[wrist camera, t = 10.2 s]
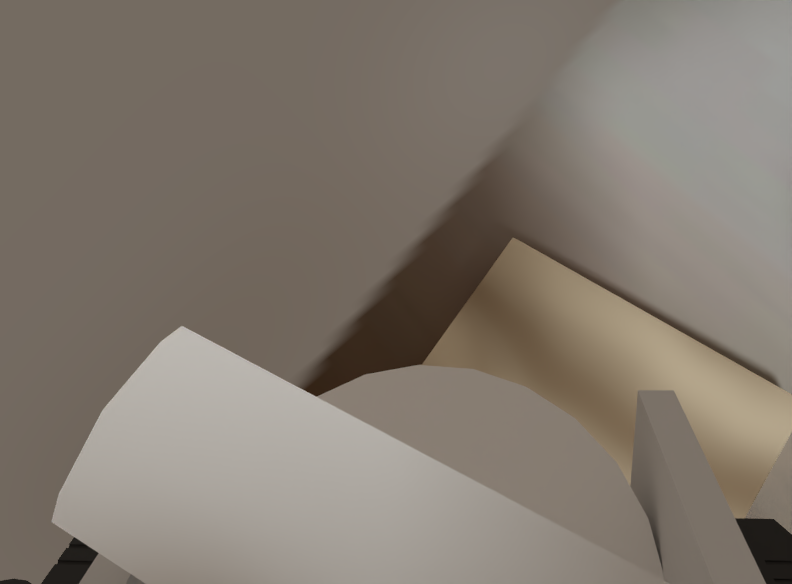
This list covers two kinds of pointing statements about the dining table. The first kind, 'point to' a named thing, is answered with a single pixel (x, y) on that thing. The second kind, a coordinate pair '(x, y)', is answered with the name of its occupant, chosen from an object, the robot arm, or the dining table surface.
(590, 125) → the dining table surface
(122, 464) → the base with upright slab
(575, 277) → the pine board
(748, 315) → the dining table surface
